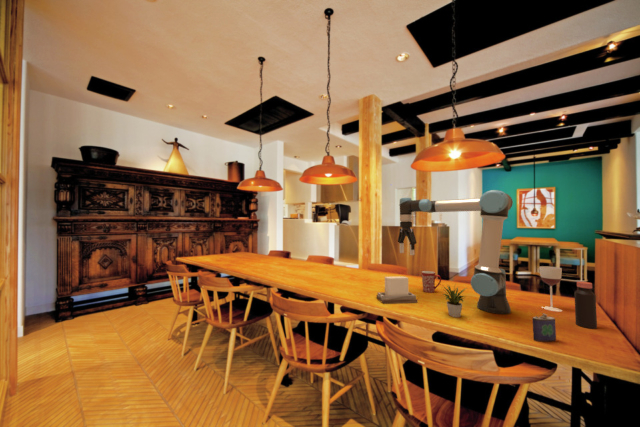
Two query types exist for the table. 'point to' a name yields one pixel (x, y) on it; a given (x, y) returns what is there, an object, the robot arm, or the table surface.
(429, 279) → the mug
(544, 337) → the flask
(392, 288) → the beige rectangular block
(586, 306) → the bottle
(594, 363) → the table surface
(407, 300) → the grey wooden tray
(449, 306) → the house plant
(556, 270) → the wineglass
